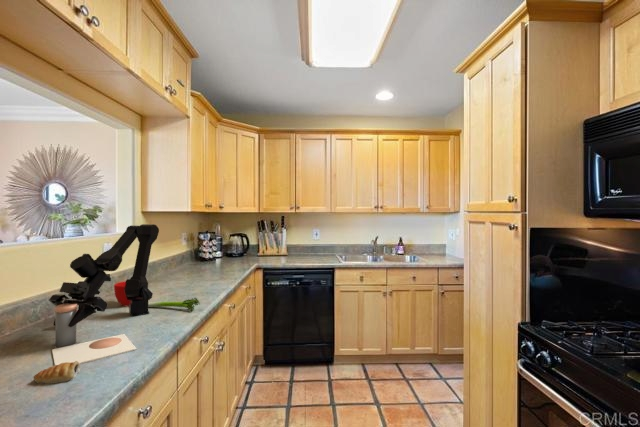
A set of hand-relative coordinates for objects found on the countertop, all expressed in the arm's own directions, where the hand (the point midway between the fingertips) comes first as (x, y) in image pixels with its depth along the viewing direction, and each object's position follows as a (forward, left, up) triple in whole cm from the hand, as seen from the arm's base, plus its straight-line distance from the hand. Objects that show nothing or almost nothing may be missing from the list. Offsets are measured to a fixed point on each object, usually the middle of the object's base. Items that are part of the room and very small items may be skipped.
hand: (62, 326), depth 105 cm
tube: (-1, -1, -7) cm, 7 cm away
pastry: (+2, +25, -7) cm, 26 cm away
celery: (-40, -20, -7) cm, 45 cm away
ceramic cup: (-28, -42, -7) cm, 51 cm away
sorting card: (-7, +11, -7) cm, 15 cm away
